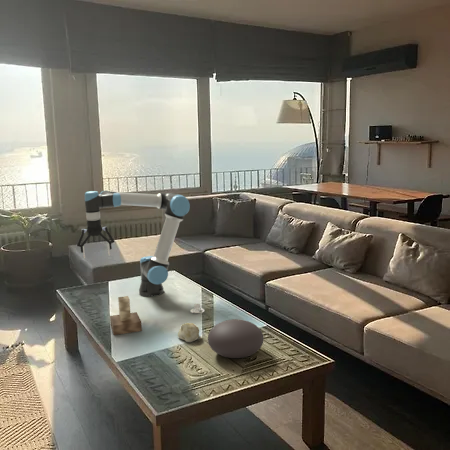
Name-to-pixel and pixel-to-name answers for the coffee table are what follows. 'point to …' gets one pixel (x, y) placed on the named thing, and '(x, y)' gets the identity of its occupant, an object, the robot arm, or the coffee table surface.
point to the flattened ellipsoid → (235, 338)
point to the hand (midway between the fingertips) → (97, 256)
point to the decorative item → (188, 332)
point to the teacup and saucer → (197, 309)
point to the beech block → (124, 308)
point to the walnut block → (125, 324)
